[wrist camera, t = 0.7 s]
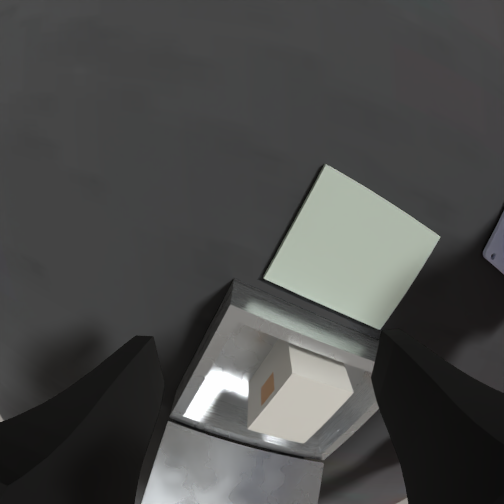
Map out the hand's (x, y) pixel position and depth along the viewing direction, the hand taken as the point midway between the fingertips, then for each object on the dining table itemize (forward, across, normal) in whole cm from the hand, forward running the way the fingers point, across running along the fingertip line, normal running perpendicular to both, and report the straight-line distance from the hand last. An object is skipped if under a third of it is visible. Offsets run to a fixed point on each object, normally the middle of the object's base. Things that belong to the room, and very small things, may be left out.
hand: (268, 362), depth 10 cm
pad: (+10, -6, 0) cm, 11 cm away
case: (+10, -2, +9) cm, 14 cm away
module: (+10, -2, +8) cm, 13 cm away
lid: (+6, +1, +14) cm, 15 cm away
